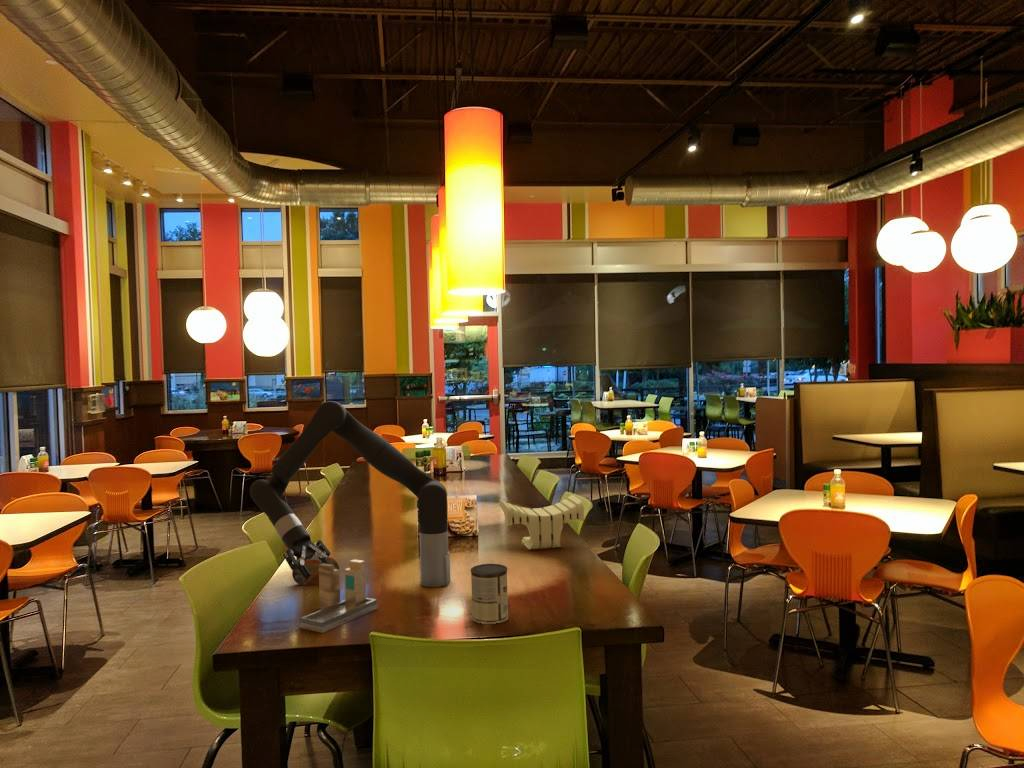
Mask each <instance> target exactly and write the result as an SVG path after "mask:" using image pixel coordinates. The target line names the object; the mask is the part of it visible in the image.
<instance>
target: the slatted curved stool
mask: <svg viewBox="0 0 1024 768" xmlns="http://www.w3.org/2000/svg"><path fill="white" fill-rule="evenodd" d="M498 501H499V507H500V509H501V510H502V512H503V515H504V522H505V523H504V524H505V525H506V526H507V527H509V526H512V525H513V524H514V525H520V524H522V525H524V526H526V528H527V530H528V533H529V536H523V537H522V539H521V541H522V542H523V543H524V545H525V546H526V547H527V548H528V549H529V550H538V549H542V548H543V549H550V548H551V547H552V548H553V549H554V548H556V547H557V548H562V546H561V535H562V530H563V527H564V525H563V524H567V523H568V522H570V521H580V522H584V521H585V515H584V514H585V511H584V509H585V508H584V503H583V501H582V500H581V499H580V498H578V497H576V496H575V495H574V494H571V495H569V496H567V499H566V498H565V499H562V500H561V501H560V502H559V501H558V502H556V503H554V505H553V504H552V505H549V506H544V507H539V508H538V507H537V508H535V507H534V508H531V507H522V506H518V505H515V504H511V503H510V502H506V501H504V500H502V499H500V498H499V499H498ZM522 542H521V543H522ZM523 543H522V544H523ZM524 545H523V546H524ZM525 546H524V547H525ZM526 547H525V548H526ZM527 548H526V549H527ZM552 548H551V549H552ZM528 549H527V550H528Z"/></svg>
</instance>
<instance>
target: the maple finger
mask: <svg viewBox="0 0 1024 768" xmlns="http://www.w3.org/2000/svg"><path fill="white" fill-rule="evenodd" d="M340 577H341V576H340V569H339V570H338V569H334V565H331V564H325V563H323V564H320V565H319V584H318V588H319V589H318V591H319V592H318V593H319V594H318V595H319V609H320V610H321V609H323V608H326V607H328V606H331V605H333V604H336V603H338V602H341V587H340V586H341V583H340V581H341V580H340Z"/></svg>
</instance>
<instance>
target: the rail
mask: <svg viewBox="0 0 1024 768" xmlns="http://www.w3.org/2000/svg"><path fill="white" fill-rule="evenodd" d="M348 562H349V567H347V568H344V569H343V570H344V573H343V574H344V599H343V600H340V602H338V603H336V604H333V605H331V606H328V607H326V608H323V609H321V608H320V609H319V610H317V611H314V612H312V613H309V614H307V615H304V616H302V617H299V628H300V629H304V630H308V631H313V632H317V633H320V634H323V633H326V632H327V631H330V630H332V629H334V628H337V627H340V626H342V625H343V624H346V623H348V622H350V621H352V620H355V619H357V618H360V617H361V616H364V615H366V614H369V613H371V612H373V611H375V610H377V609H378V599H376V598H370V597H367V595H366V594H367V592H366V561H365V560H360V559H354V558H353V559H352V560H349V561H348Z"/></svg>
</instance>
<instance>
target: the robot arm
mask: <svg viewBox="0 0 1024 768" xmlns="http://www.w3.org/2000/svg"><path fill="white" fill-rule="evenodd" d="M331 432H333V433H334V434H336V435H337V436H339V437H340V438H342V439H343V440H344V441H346V442H347V443H348V444H349V445H350V446H351V447H352V448H353V449H354V450H355V451H356V452H357V453H358V455H360V457H361V458H363V460H365V462H367V463H368V464H370V466H371V467H373V468H374V469H375V470H376V471H378V472H380V473H381V474H382V475H384V476H386V477H387V478H390V479H391V480H393V481H395V482H398V483H399V484H401V485H402V486H404V487H406V489H408V490H409V491H410V492H411V493H412V494H413V495H415V497H416V498H417V499H418V500H417V503H418V506H417V507H418V525H419V526H418V527H419V529H418V530H419V559H420V560H419V561H420V562H419V563H420V569H419V570H420V571H419V572H420V586H423V587H425V588H438V587H439V588H440V587H447V586H448V585H449V583H450V582H451V558H450V556H451V555H450V551H449V532H448V531H449V529H448V528H449V527H448V525H449V523H448V521H449V520H448V492H447V489H446V487H445V486H444V484H442V483H441V482H440V481H438V480H437V479H435V478H433V477H432V476H430V475H429V474H427V473H426V472H424V471H423V470H421V469H420V468H418V467H417V466H416V465H415V464H414V463H413V462H412V461H411V460H410V459H409V458H408V457H407V456H405V454H403V453H402V452H401V451H400V450H398V448H396V447H395V446H394V445H393V444H392V443H390V442H389V441H388V440H386V439H385V438H384V437H382V436H381V435H380V434H378V433H377V432H374V431H373V430H371V429H370V428H368V427H367V426H365V425H363V424H362V423H361V422H360V421H359V420H358V419H356V418H355V417H354V416H353V415H352V414H351V413H350V412H349V411H348V410H347V409H346V408H345V407H344V406H343V405H342V404H341V403H340V402H338V401H333V400H328V401H324V402H322V403H321V404H319V406H318V407H317V409H316V411H315V413H314V415H313V416H312V418H311V420H310V421H309V423H308V424H307V426H306V427H305V428H304V430H303V431H302V432H301V434H300V435H299V436H298V437H297V438H296V440H295V441H294V442H293V443H292V444H291V445H290V446H289V447H288V448H287V449H286V450H285V451H284V452H283V454H282V455H281V456H280V457H279V458H278V459H277V461H276V462H275V463H274V464H273V466H272V467H271V473H272V475H271V477H270V478H269V480H267V479H262V478H261V479H256V480H254V481H253V482H252V483H251V485H250V488H249V494H250V497H251V499H252V501H253V502H254V503H255V505H256V506H257V507H258V508H259V509H260V510H261V511H262V513H264V514H265V515H266V517H267V518H268V520H269V521H270V523H271V524H272V526H273V527H274V529H275V531H276V534H277V535H278V537H279V539H280V540H281V541H282V543H283V544H284V546H285V547H286V550H285V552H283V555H282V556H283V558H284V559H285V561H286V563H287V564H288V567H289V568H290V569H291V570H292V571H293V570H294V569H297V570H299V571H300V573H301V574H302V576H303V577H304V578H305V579H309V578H310V577H311V573H310V571H309V570H308V568H307V567H306V565H304V561H306V560H307V559H314V560H318V561H320V562H322V563H321V564H323V563H325V564H331V563H330V562H329V560H328V557H330V555H331V552H330V551H329V549H328V548H327V546H326V545H325V544H324V543H323V541H322V540H321V539H318V540H317V541H316V542H315V543H314V542H313V541H312V539H311V535H310V534H309V531H307V529H306V527H305V526H304V525H303V522H301V520H300V519H299V517H298V516H297V515H296V514H295V513H294V511H293V510H292V508H291V506H290V505H289V504H288V503H287V502H286V501H284V500H282V499H281V497H282V496H283V494H284V492H286V490H287V488H288V485H289V483H290V481H291V480H292V478H294V476H295V475H296V474H297V473H298V472H299V470H301V468H302V467H303V466H304V464H305V463H306V462H307V460H308V459H309V458H310V456H311V455H312V453H313V451H315V449H316V448H317V446H318V445H319V444H320V443H321V442H322V441H323V440H324V439H325V438H326V437H327V436H328V435H329V434H331ZM321 557H322V558H321Z"/></svg>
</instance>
